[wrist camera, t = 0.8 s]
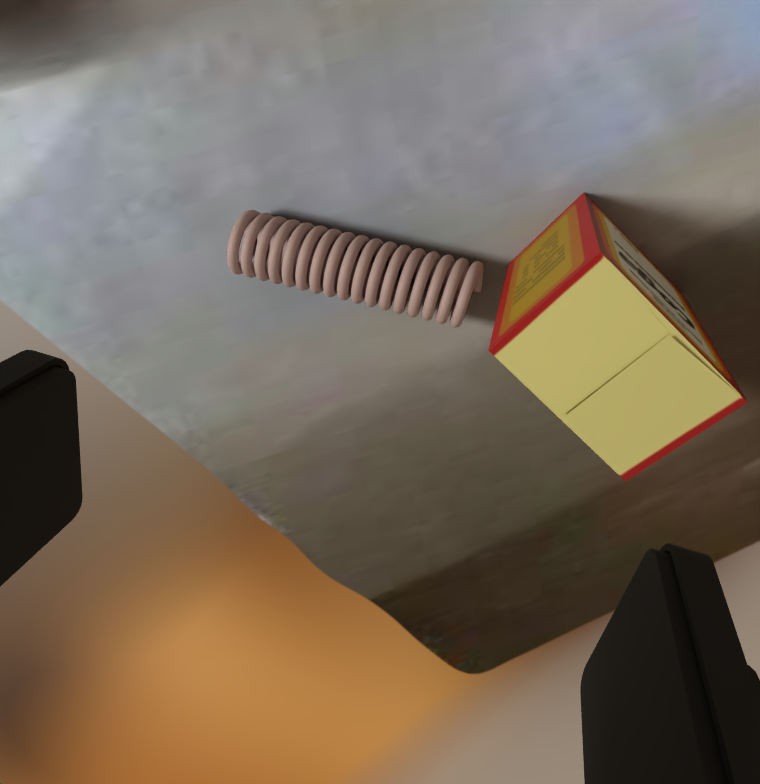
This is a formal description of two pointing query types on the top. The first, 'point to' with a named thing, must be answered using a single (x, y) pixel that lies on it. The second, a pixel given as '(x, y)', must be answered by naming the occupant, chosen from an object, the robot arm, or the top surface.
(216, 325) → the top surface
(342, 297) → the coil
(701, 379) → the baking soda box
